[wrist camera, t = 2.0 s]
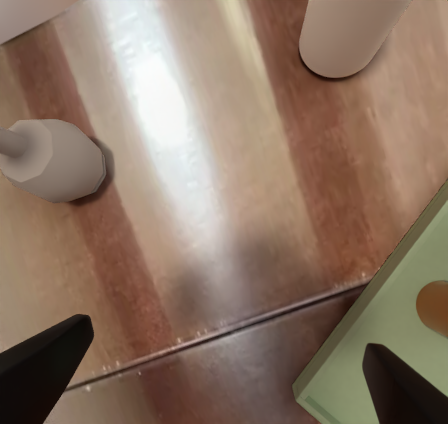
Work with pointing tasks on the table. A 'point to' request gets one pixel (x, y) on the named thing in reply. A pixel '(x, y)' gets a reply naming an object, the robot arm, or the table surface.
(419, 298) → the amber bottle
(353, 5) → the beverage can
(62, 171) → the potion bottle
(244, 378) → the table surface
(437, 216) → the tray
